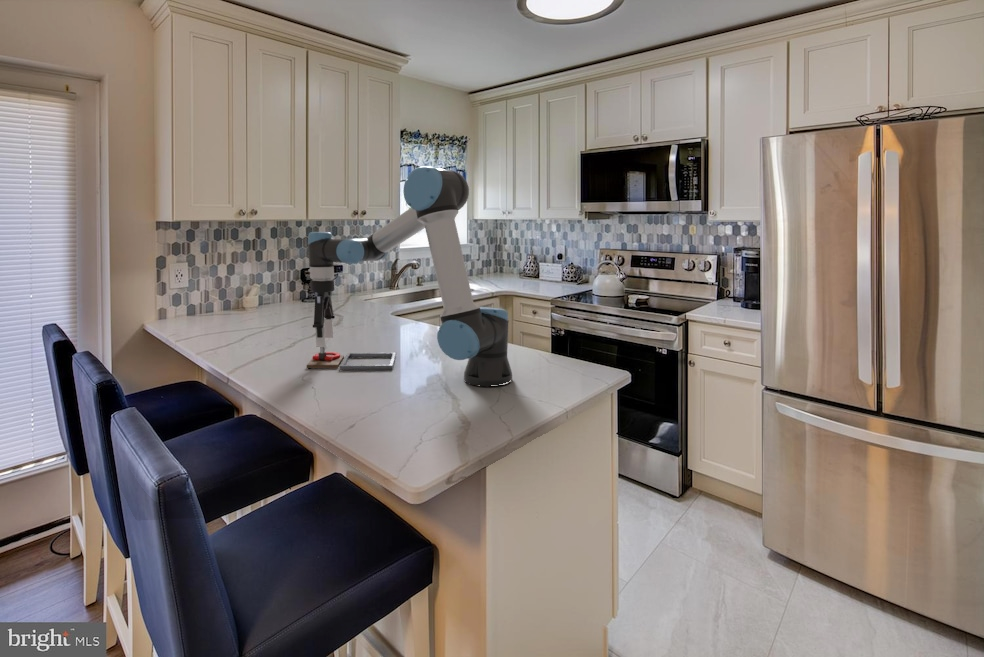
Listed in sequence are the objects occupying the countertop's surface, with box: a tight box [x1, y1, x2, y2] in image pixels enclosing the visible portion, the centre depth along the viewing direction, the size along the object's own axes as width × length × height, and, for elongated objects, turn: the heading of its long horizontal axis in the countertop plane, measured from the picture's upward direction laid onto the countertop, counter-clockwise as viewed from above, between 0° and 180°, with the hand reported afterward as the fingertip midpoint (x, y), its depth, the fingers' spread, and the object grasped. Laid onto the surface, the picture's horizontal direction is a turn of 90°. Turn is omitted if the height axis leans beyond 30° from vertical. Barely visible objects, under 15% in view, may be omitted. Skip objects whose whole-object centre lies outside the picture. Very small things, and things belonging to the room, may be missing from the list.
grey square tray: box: [339, 352, 397, 371], centre depth 179 cm, size 17×17×2 cm
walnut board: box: [306, 355, 345, 369], centre depth 177 cm, size 12×10×1 cm
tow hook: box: [312, 346, 341, 361], centre depth 180 cm, size 8×13×9 cm
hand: (325, 342), depth 176 cm, fingers open, 13 cm apart
